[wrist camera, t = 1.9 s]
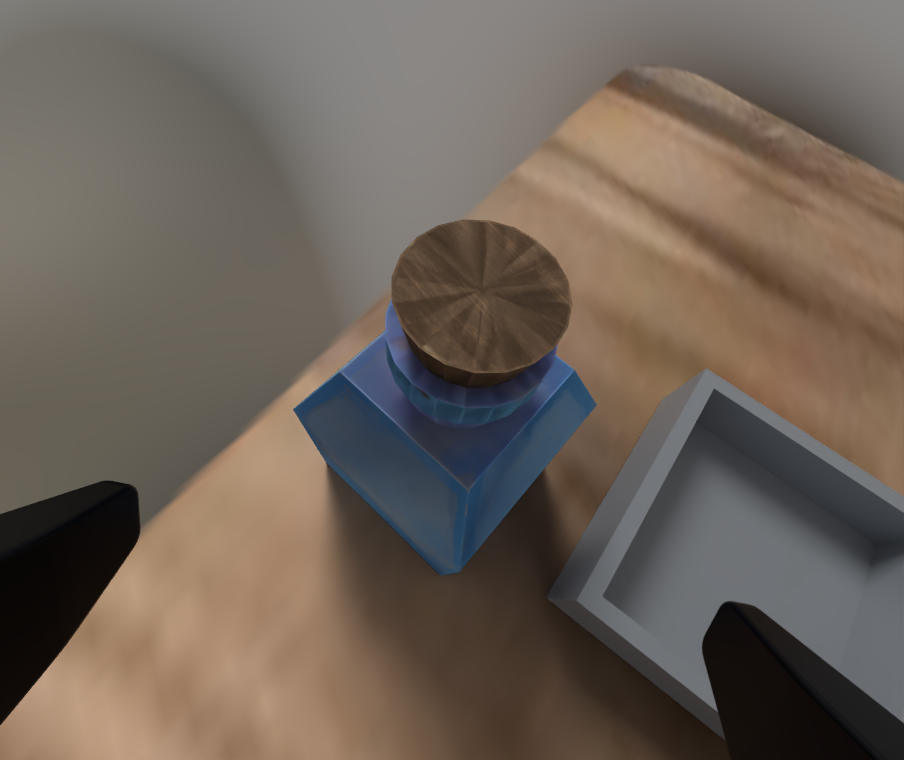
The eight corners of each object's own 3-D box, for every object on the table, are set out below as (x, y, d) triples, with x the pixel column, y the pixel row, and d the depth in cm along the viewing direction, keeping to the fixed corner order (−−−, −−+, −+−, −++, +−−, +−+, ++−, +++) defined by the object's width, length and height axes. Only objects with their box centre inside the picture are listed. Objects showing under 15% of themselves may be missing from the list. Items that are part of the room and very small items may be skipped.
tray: (798, 799, 15) (895, 851, 12) (545, 597, 17) (576, 600, 14) (875, 542, 19) (963, 535, 16) (662, 399, 21) (706, 368, 18)
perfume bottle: (539, 456, 19) (718, 293, 8) (440, 575, 17) (508, 561, 6) (432, 363, 21) (466, 116, 10) (326, 462, 18) (216, 286, 8)
